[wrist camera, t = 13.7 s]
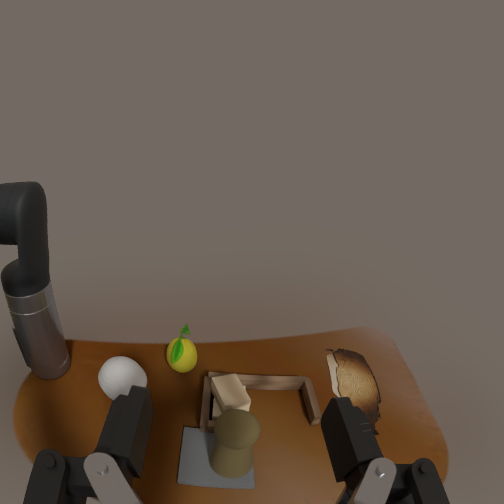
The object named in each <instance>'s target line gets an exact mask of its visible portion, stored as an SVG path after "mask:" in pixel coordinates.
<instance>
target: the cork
mask: <svg viewBox="0 0 504 504" xmlns="http://www.w3.org/2000/svg"><path fill="white" fill-rule="evenodd" d="M214 432H215V436H216V441H215V443H214V446H213V449H212V451H211V454H210V457H209V463H210V466H211V468H212V469H213V471H214V472H216V473H217V474H218V475H220V476H222V477H225V478H240V477H242V476H244V475H246V474H247V473H248V472H249V471H250V470H251V468H252V466H253V444H254V443H255V442H256V441H257V439H258V437H259V434H260V425H259V422H258V420H257V419H256V418H255V416H254V415H253V414H251V413H249V412H248V411H245V410H242V409H231V410H228V411H225V412H223V413H222V414H221V415H219V417H218V418H217V420H216V421H215V425H214Z"/></svg>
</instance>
